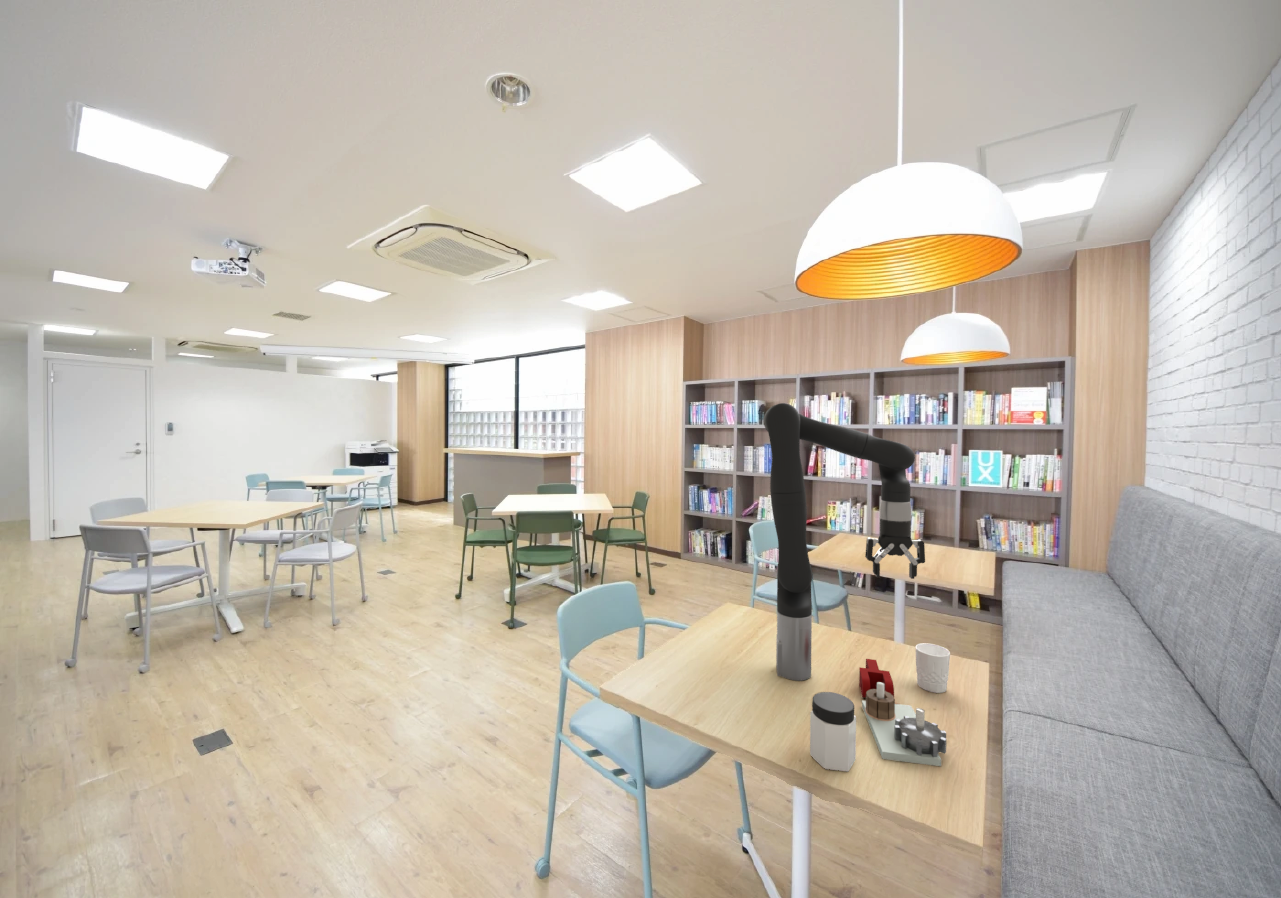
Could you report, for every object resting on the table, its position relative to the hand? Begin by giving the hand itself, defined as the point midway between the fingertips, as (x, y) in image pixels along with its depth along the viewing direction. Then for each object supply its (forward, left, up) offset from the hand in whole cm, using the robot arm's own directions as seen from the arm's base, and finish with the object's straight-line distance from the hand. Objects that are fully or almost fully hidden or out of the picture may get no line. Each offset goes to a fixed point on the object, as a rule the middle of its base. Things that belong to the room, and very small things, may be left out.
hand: (894, 577), depth 135 cm
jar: (-21, -38, -28) cm, 52 cm away
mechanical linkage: (-6, -5, -29) cm, 30 cm away
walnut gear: (-8, -21, -26) cm, 35 cm away
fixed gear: (-3, -31, -27) cm, 41 cm away
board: (-6, -26, -28) cm, 39 cm away
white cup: (+9, -2, -28) cm, 30 cm away
